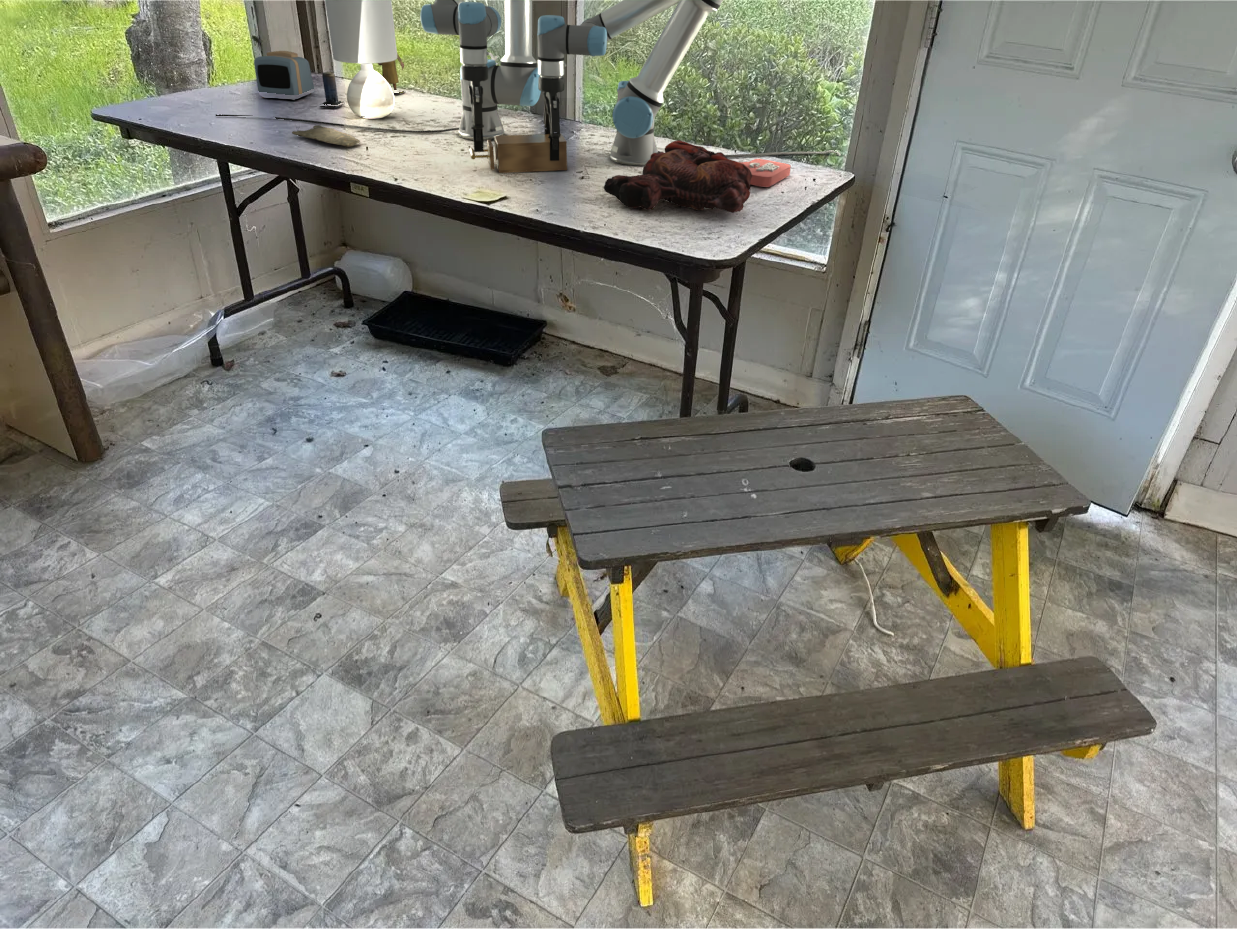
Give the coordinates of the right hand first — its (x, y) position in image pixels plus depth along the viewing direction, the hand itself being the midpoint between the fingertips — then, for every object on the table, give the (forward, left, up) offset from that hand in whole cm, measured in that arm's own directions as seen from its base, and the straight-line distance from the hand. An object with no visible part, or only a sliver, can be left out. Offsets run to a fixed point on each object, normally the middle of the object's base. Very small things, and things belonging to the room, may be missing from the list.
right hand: (552, 155), depth 257 cm
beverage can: (+53, -100, -3) cm, 113 cm away
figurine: (+27, -118, -3) cm, 122 cm away
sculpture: (-20, +46, -3) cm, 50 cm away
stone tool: (+60, -49, -3) cm, 78 cm away
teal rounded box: (+67, -123, -3) cm, 140 cm away
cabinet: (+6, -1, -3) cm, 7 cm away
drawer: (+12, -2, -2) cm, 12 cm away
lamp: (+41, -81, -3) cm, 91 cm away
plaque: (-55, +29, -3) cm, 62 cm away
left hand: (+22, -4, +2) cm, 22 cm away
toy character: (0, -80, -3) cm, 80 cm away
